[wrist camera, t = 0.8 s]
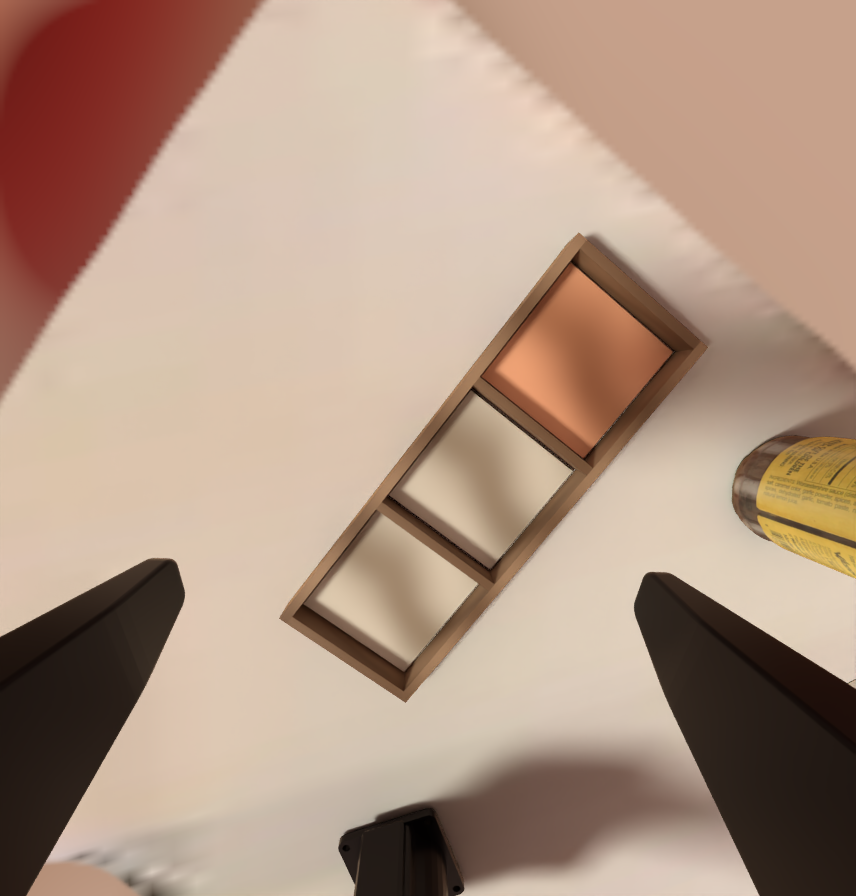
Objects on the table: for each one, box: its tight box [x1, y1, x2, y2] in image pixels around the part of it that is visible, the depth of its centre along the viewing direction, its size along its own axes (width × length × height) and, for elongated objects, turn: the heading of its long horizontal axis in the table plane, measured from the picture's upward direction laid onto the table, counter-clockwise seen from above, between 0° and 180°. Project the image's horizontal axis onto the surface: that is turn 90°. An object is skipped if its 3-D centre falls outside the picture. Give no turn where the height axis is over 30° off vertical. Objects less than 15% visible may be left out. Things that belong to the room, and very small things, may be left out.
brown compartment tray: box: [279, 233, 708, 703], centre depth 21 cm, size 25×9×2 cm, turn 142°
